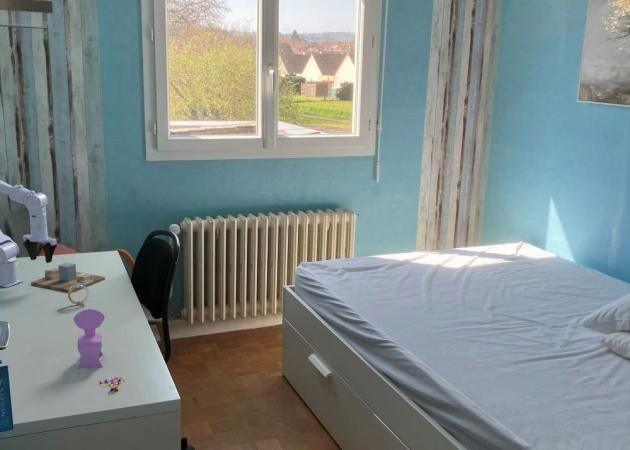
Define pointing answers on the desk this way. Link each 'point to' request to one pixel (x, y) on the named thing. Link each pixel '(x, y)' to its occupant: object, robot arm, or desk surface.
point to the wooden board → (53, 281)
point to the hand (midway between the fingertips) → (41, 260)
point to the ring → (74, 289)
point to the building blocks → (113, 386)
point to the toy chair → (89, 337)
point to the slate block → (67, 272)
